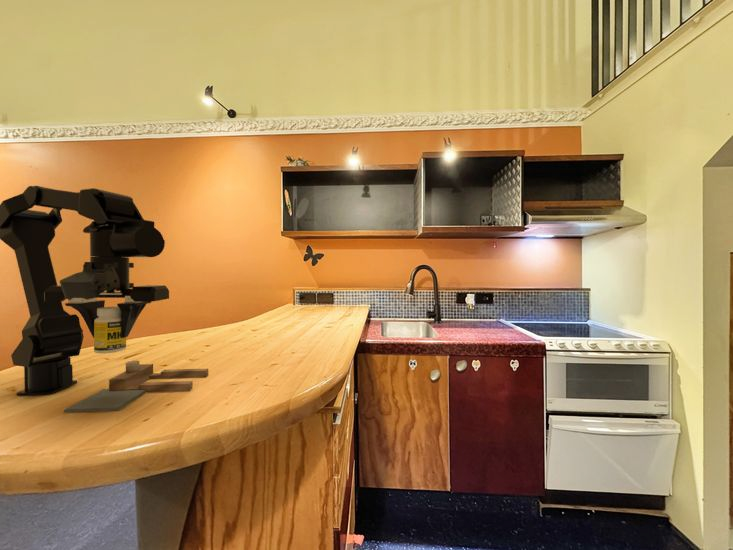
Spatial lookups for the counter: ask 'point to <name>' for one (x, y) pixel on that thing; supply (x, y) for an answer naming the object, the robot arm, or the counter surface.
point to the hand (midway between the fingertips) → (110, 337)
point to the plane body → (141, 373)
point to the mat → (105, 401)
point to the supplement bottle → (108, 331)
